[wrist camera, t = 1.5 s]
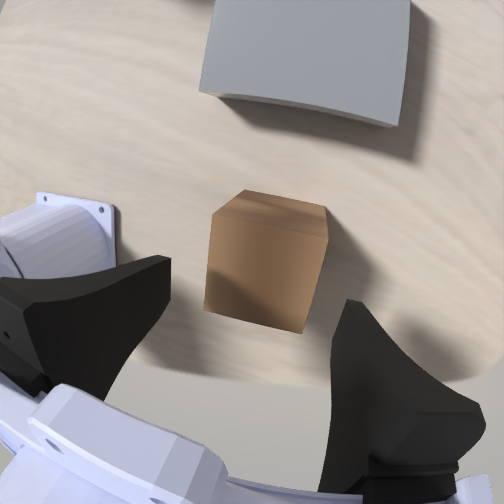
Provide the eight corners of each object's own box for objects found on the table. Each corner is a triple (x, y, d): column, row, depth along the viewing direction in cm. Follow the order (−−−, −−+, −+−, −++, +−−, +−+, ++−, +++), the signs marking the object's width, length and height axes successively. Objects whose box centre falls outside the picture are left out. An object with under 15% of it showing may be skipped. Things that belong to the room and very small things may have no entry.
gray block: (219, 98, 17) (198, 91, 13) (243, -30, 13) (229, -55, 9) (382, 127, 15) (397, 126, 12) (396, -7, 11) (409, -31, 8)
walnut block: (234, 262, 20) (203, 310, 15) (244, 189, 18) (212, 214, 13) (307, 278, 20) (301, 334, 14) (325, 206, 17) (328, 239, 12)
